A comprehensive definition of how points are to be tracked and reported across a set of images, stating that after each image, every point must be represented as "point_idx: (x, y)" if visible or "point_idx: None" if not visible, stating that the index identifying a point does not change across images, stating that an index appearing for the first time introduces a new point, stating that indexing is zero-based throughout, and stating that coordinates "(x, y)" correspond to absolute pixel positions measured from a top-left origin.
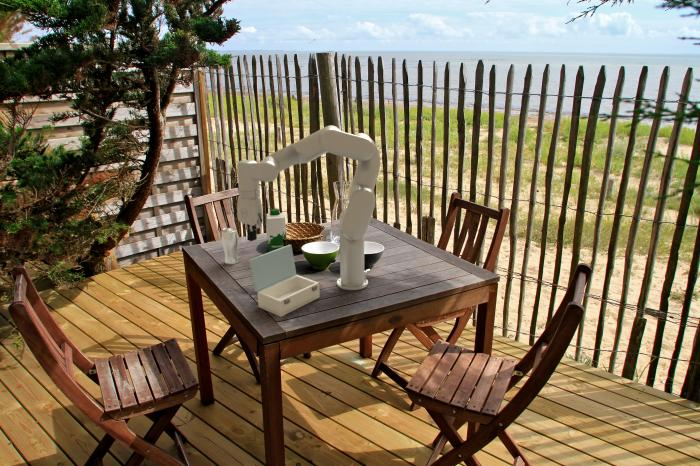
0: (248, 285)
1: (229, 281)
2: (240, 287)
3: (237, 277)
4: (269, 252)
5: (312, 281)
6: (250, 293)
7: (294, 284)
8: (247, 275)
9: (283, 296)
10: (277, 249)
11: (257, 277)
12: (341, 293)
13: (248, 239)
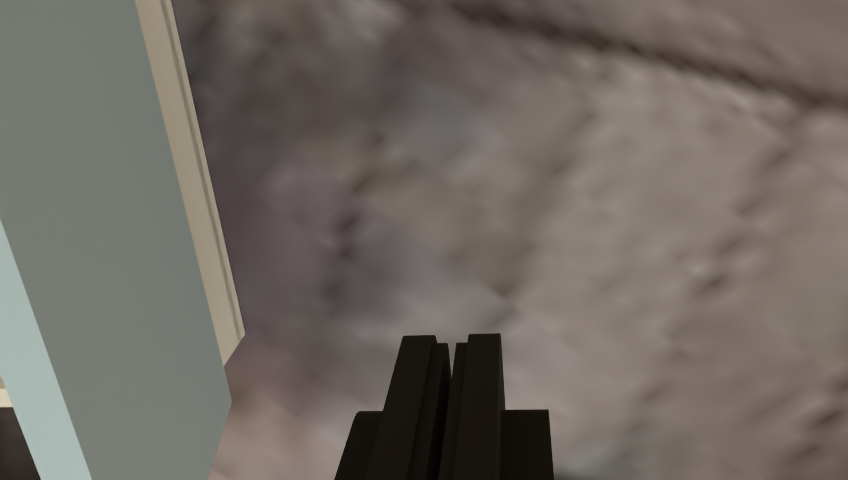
0: (590, 113)
1: (824, 36)
2: (614, 33)
3: (827, 147)
4: (12, 328)
5: (5, 393)
6: (433, 23)
7: None
8: (778, 235)
9: None
10: (65, 470)
11: None
12: (9, 455)
13: (468, 346)
